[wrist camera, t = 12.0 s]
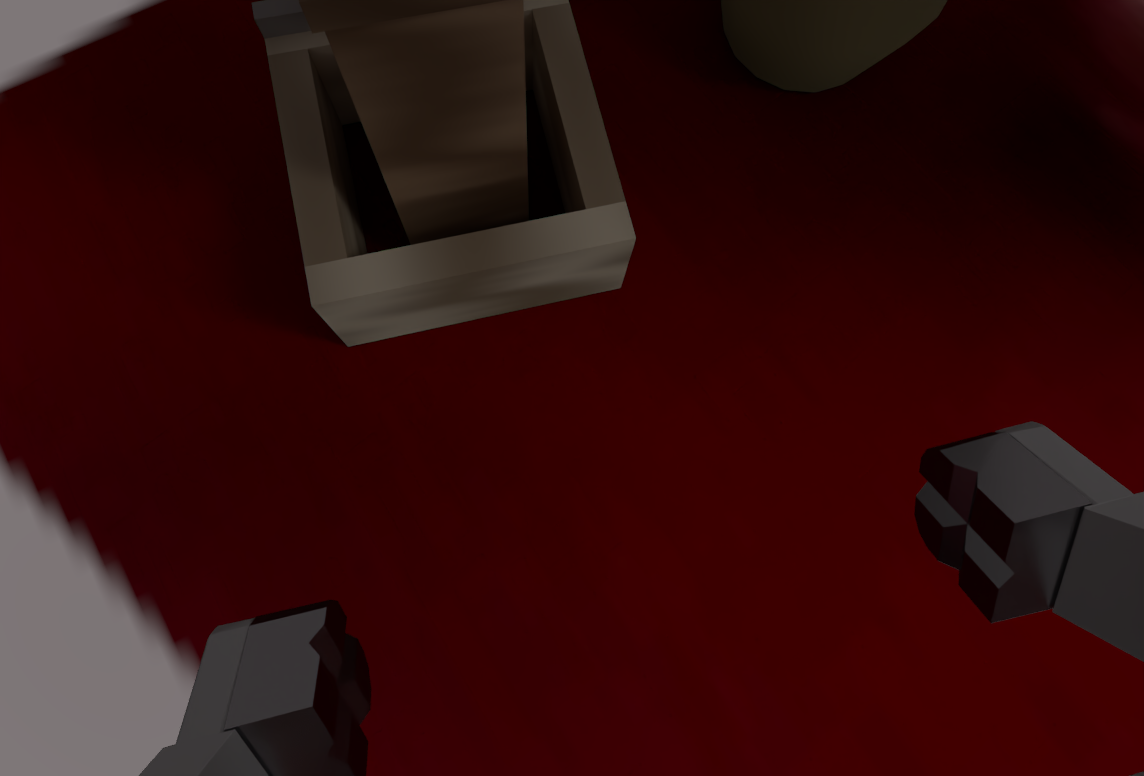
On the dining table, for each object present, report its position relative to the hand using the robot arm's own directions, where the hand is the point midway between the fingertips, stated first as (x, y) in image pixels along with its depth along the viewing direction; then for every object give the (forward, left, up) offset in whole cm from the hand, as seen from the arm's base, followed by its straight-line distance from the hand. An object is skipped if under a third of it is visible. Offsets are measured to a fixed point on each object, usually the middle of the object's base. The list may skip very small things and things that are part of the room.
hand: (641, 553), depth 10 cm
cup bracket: (+1, -13, -13) cm, 19 cm away
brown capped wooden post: (+1, -13, -13) cm, 19 cm away
